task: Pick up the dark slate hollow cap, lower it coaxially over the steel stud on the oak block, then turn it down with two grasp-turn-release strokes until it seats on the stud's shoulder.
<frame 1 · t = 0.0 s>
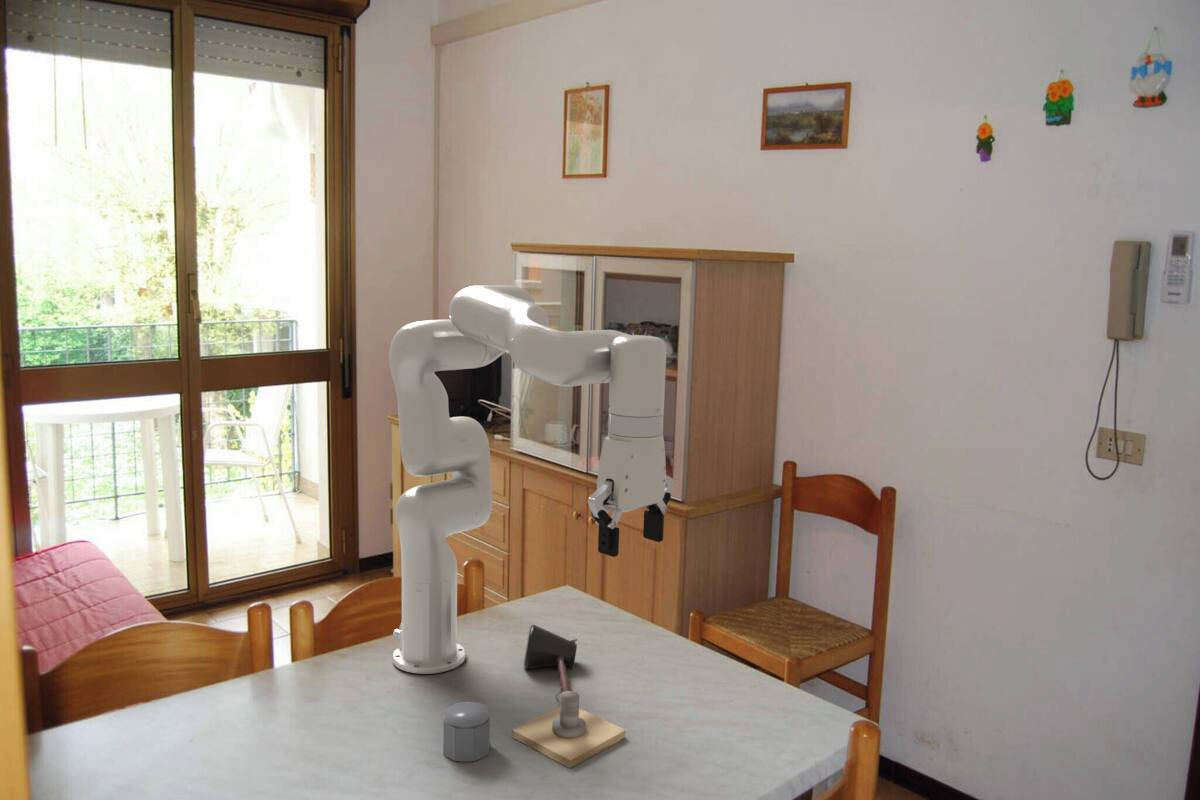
hand: (631, 546, 129), 31 cm above the table, tool pointing down, fingers open, 9 cm apart
stud block: (568, 737, 138), on the table
coffee pot: (549, 681, 157), on the table
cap: (466, 749, 133), on the table
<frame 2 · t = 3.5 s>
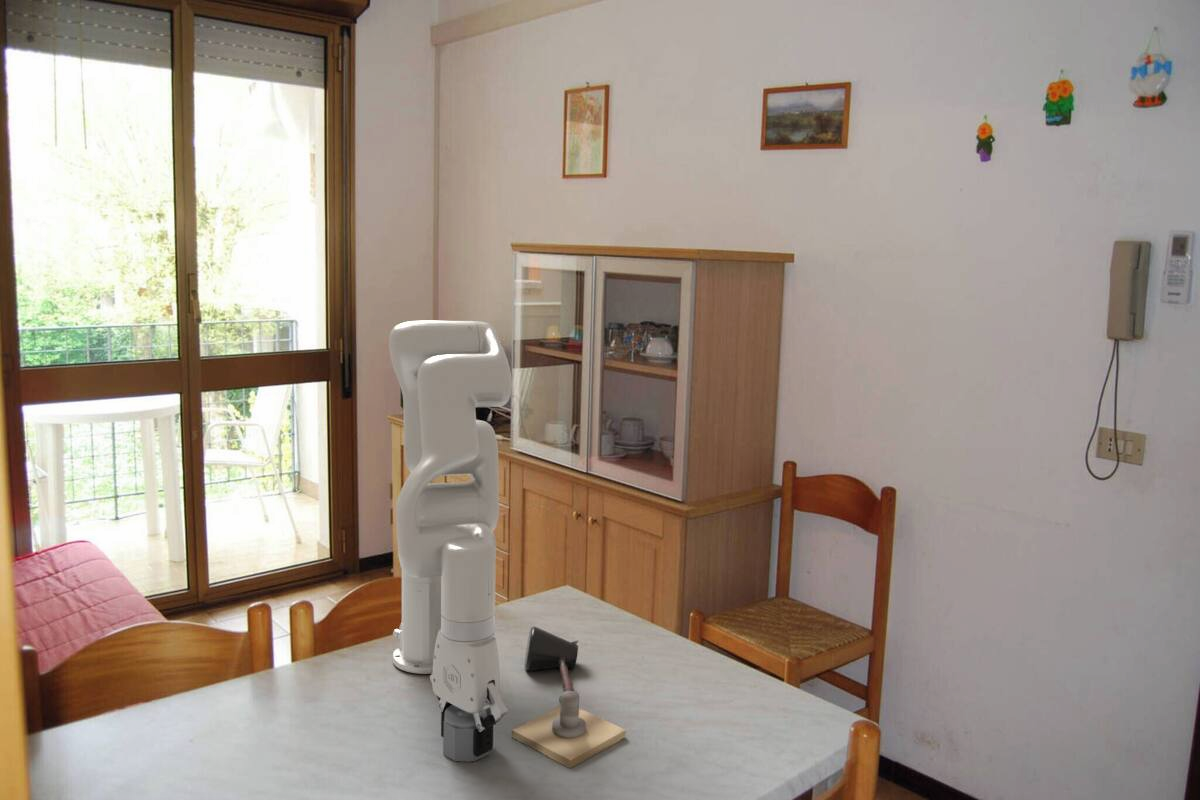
hand: (466, 742, 133), 1 cm above the table, tool pointing down, fingers closed on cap, 6 cm apart
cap: (466, 749, 133), on the table, touching gripper
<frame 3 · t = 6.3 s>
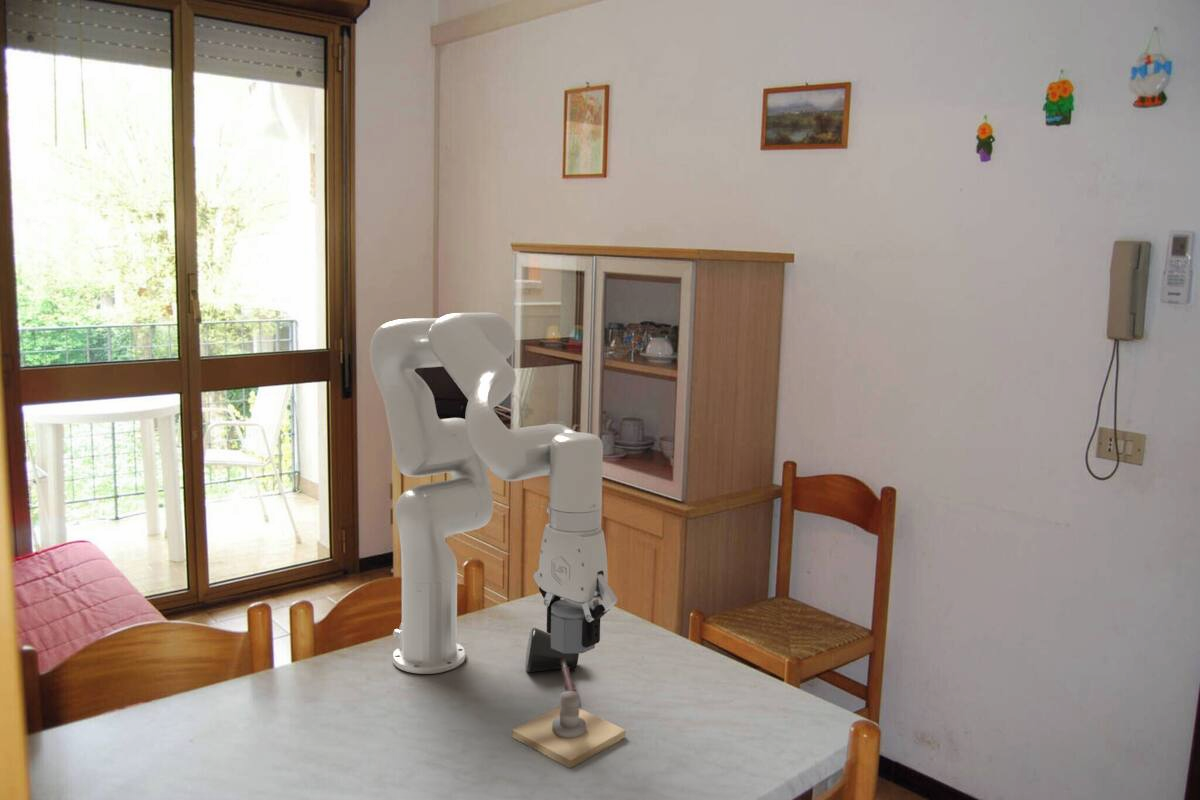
hand: (572, 636, 135), 16 cm above the table, tool pointing down, fingers closed on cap, 6 cm apart
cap: (572, 644, 135), point 15 cm above the table, touching gripper
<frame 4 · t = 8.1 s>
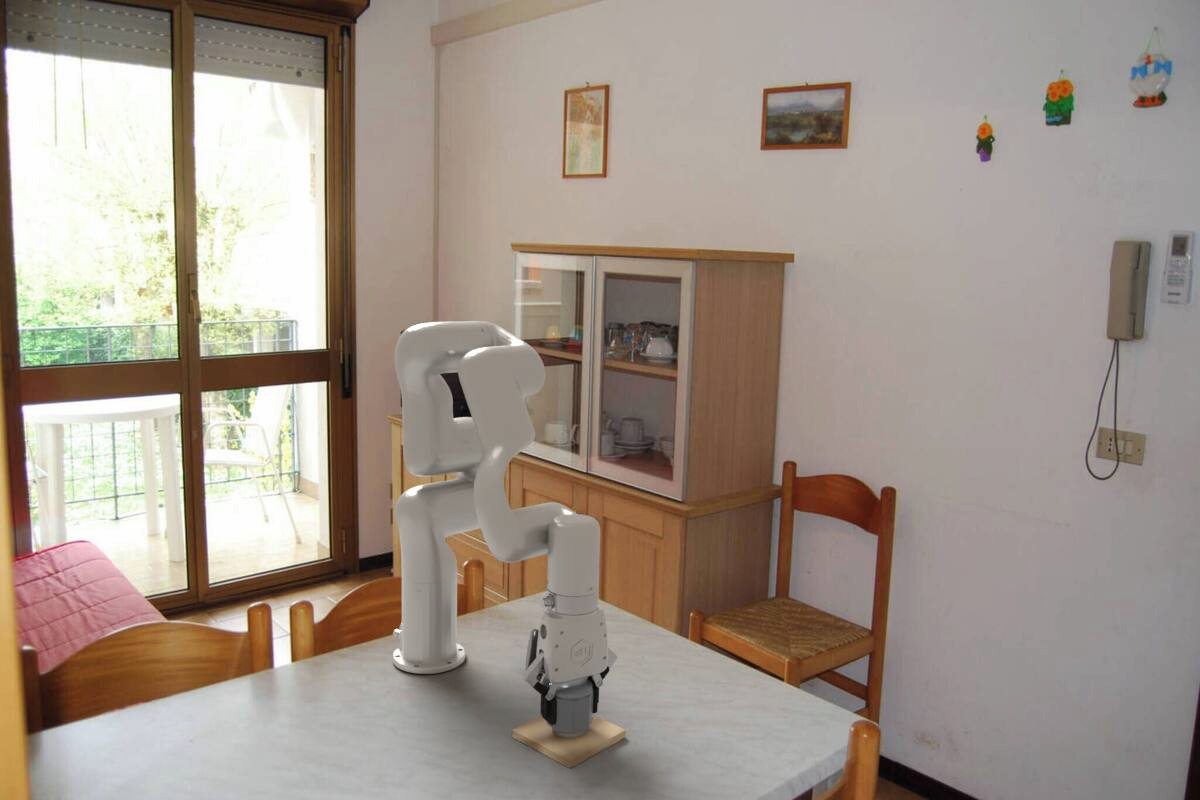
hand: (569, 714, 137), 4 cm above the table, tool pointing down, fingers closed on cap, 6 cm apart
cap: (569, 721, 137), point 3 cm above the table, touching gripper
when the fingers open (3 cm above the table, at t = 9.2 s): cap stays where it is, resting on stud block.
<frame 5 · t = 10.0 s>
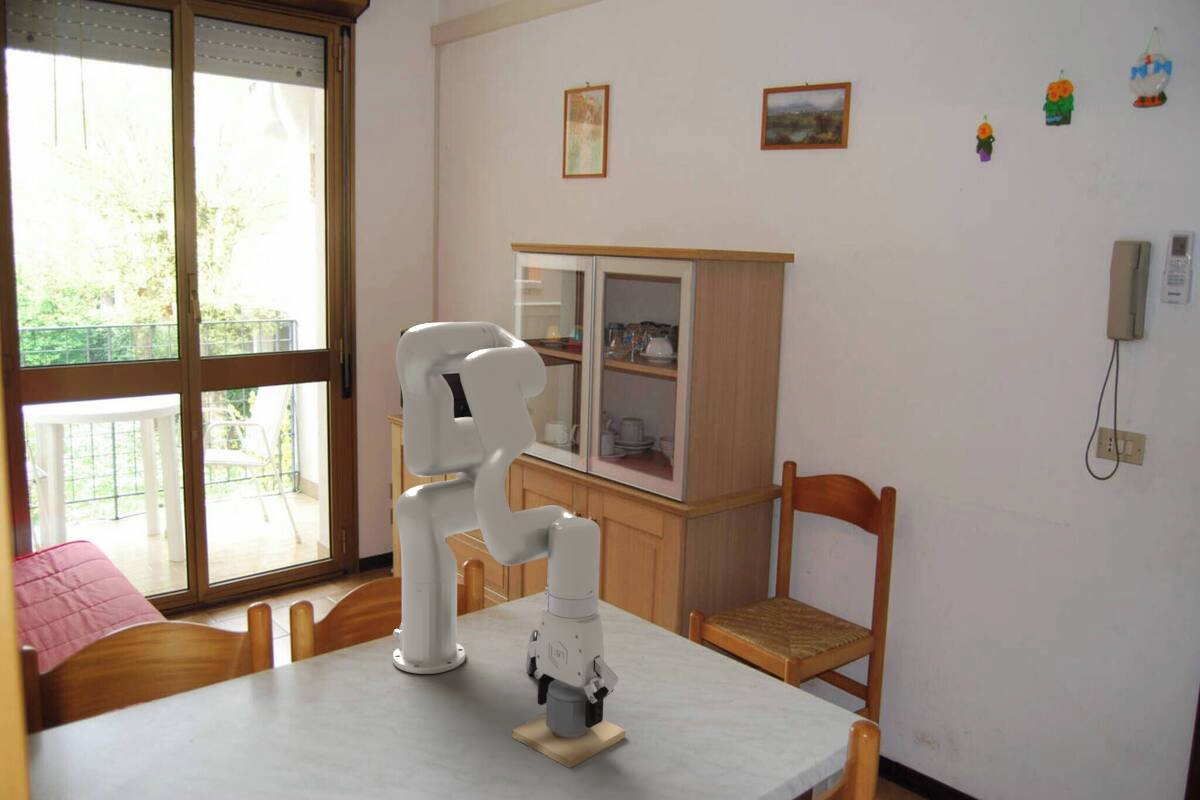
hand: (569, 712, 137), 4 cm above the table, tool pointing down, fingers open, 9 cm apart
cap: (569, 723, 137), point 2 cm above the table, touching stud block
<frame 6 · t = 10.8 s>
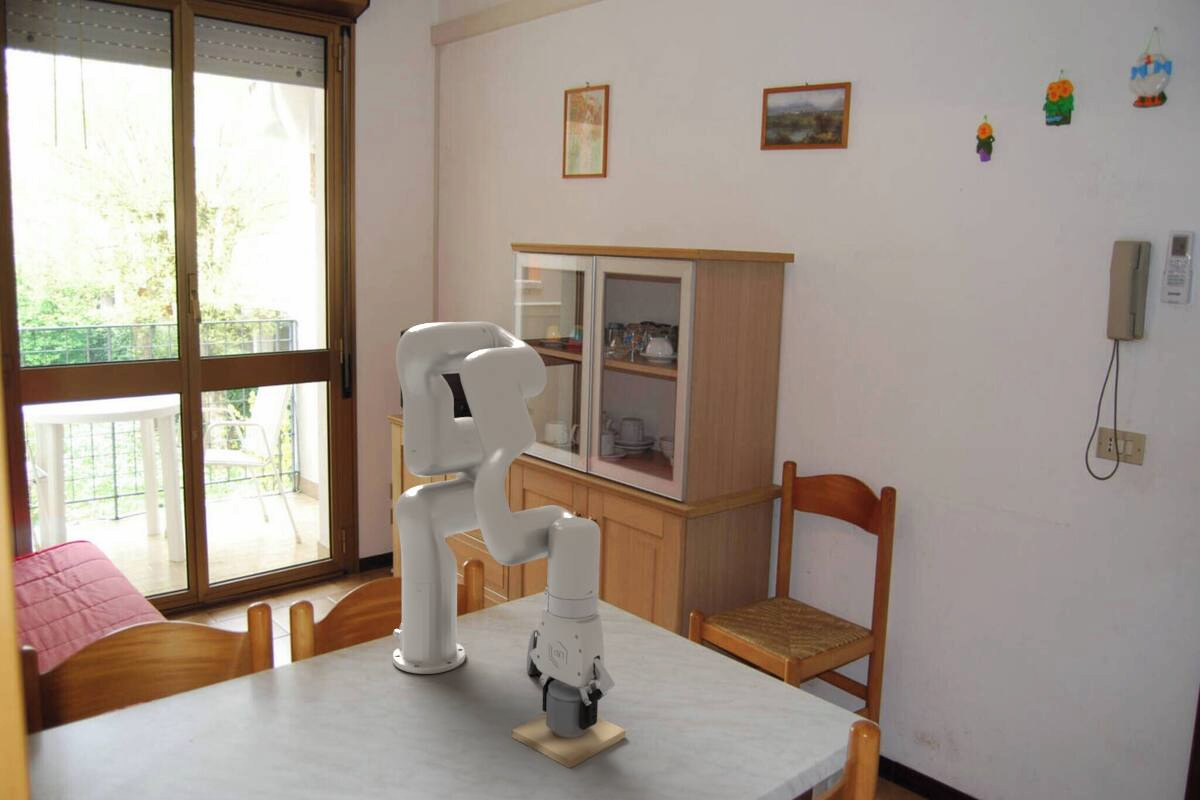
hand: (569, 716, 137), 3 cm above the table, tool pointing down, fingers closed on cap, 6 cm apart
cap: (569, 723, 137), point 2 cm above the table, touching gripper, stud block
when the fingers open (3 cm above the table, at t = 12.9 s): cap stays where it is, resting on stud block.
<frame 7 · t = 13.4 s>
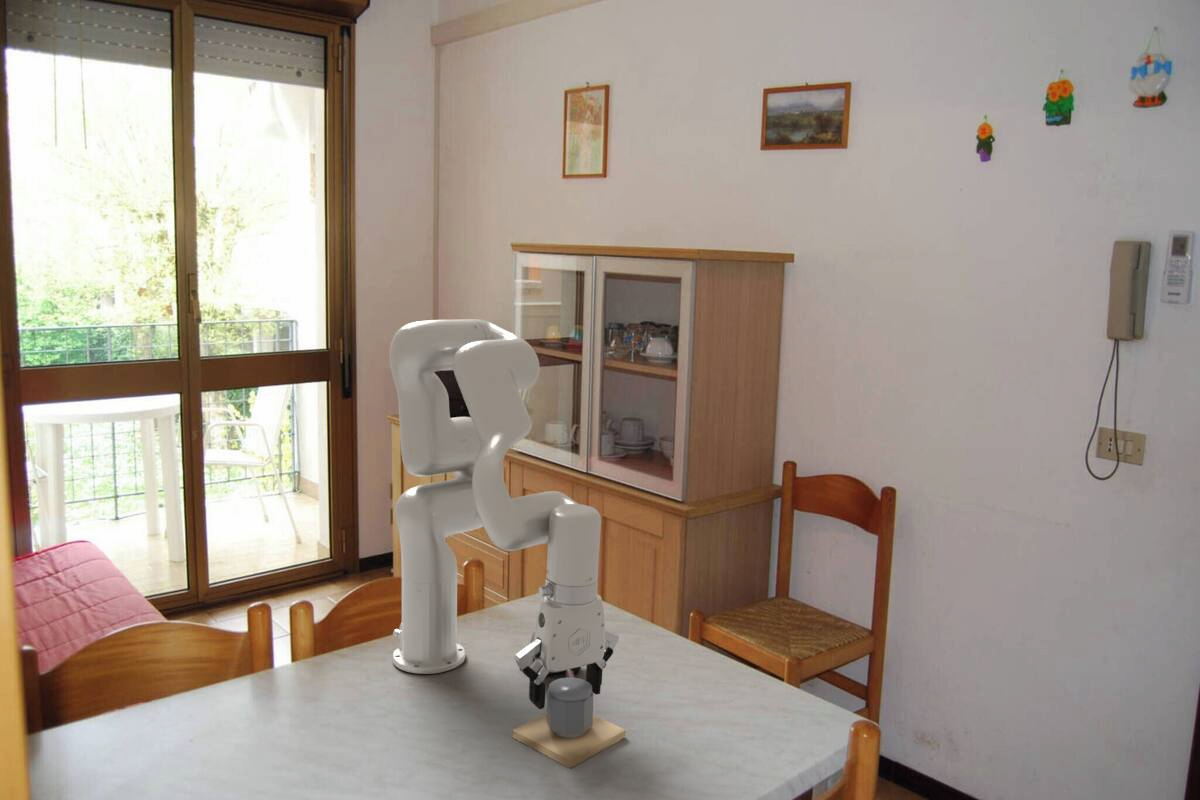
hand: (565, 697, 138), 6 cm above the table, tool pointing down, fingers open, 9 cm apart
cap: (569, 723, 137), point 2 cm above the table, touching stud block
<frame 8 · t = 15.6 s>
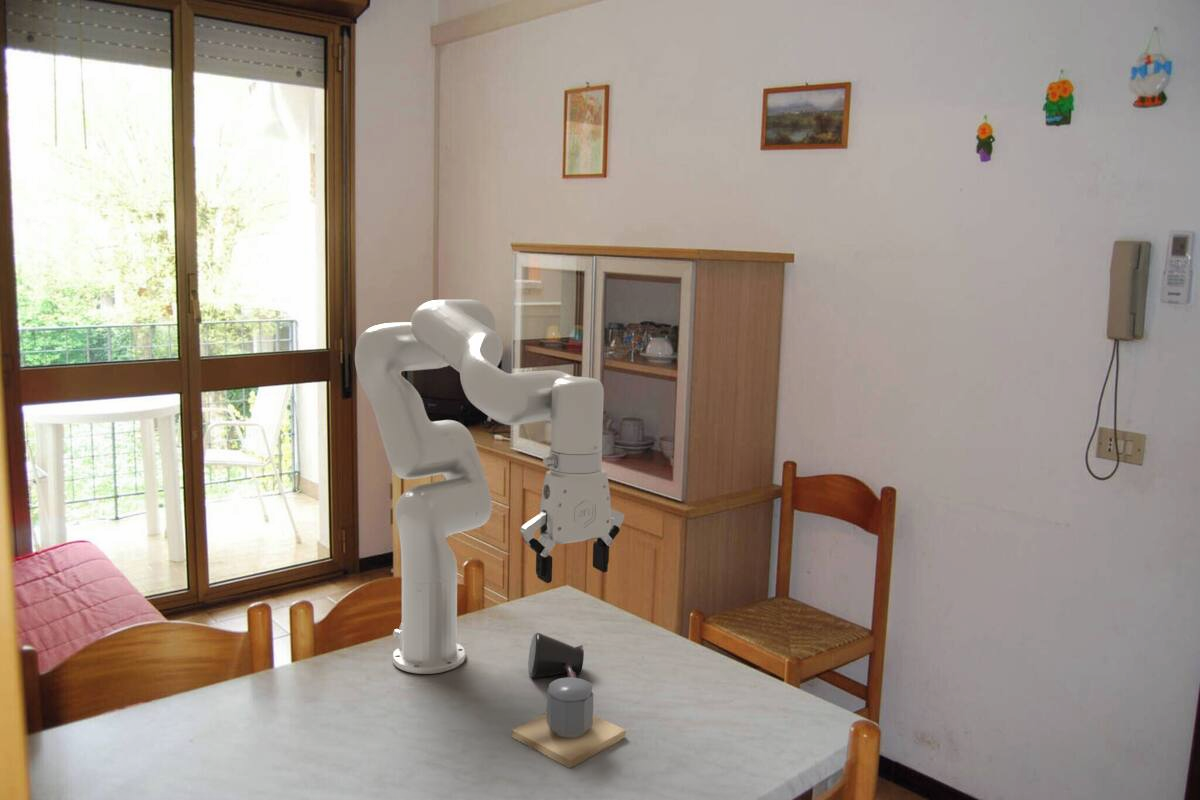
hand: (572, 574, 137), 24 cm above the table, tool pointing down, fingers open, 9 cm apart
at the end: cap 0.1 cm off-centre on the stud block, point 2.2 cm above the stud block's base; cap tilted 0°; the gripper is holding nothing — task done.
